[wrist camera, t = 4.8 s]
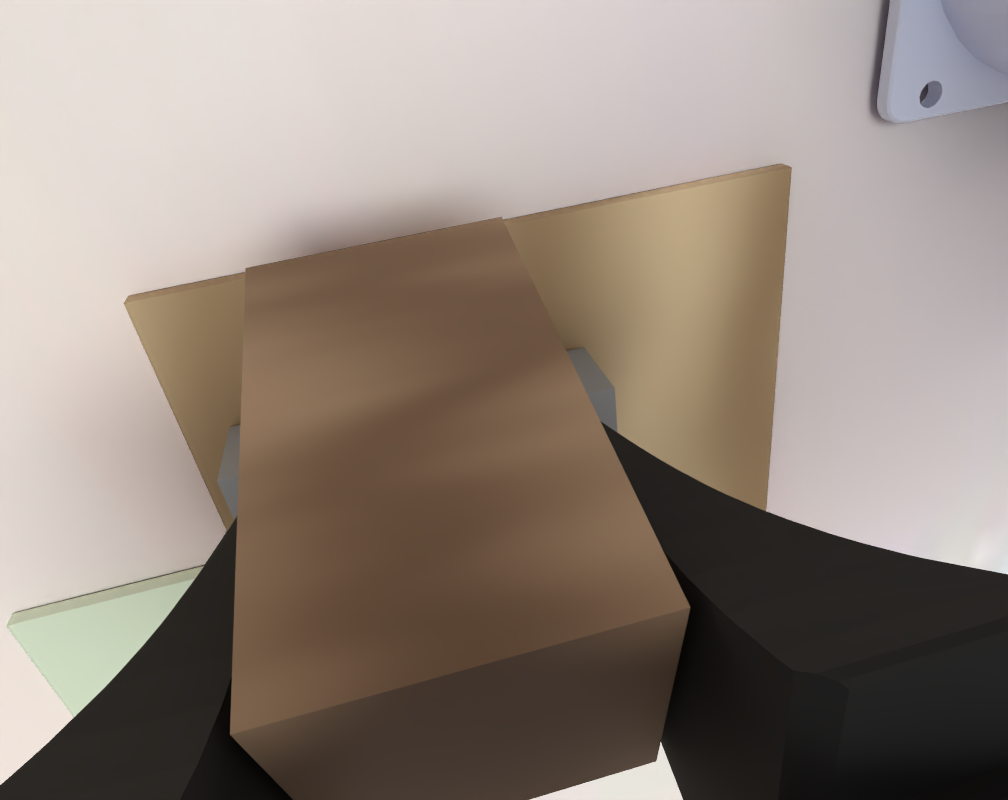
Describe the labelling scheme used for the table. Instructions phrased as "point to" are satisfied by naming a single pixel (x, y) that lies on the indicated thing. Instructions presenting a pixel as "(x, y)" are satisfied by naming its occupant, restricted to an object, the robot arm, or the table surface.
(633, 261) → the mat
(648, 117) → the table surface
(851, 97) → the table surface
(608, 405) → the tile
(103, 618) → the block
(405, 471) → the block
